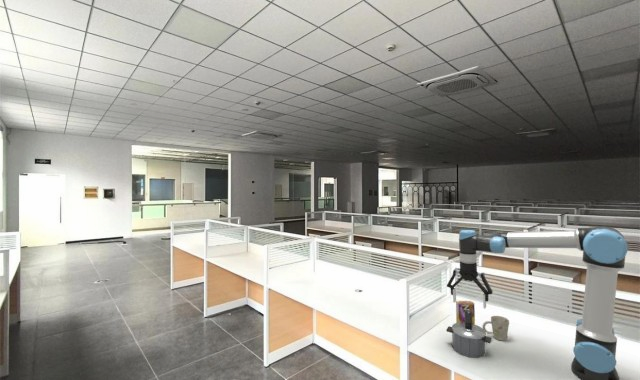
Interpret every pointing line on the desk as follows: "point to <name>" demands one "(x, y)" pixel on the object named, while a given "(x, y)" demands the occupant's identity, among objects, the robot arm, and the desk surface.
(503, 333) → the mug
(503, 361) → the desk surface
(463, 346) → the pot
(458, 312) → the candy box
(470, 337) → the lid
